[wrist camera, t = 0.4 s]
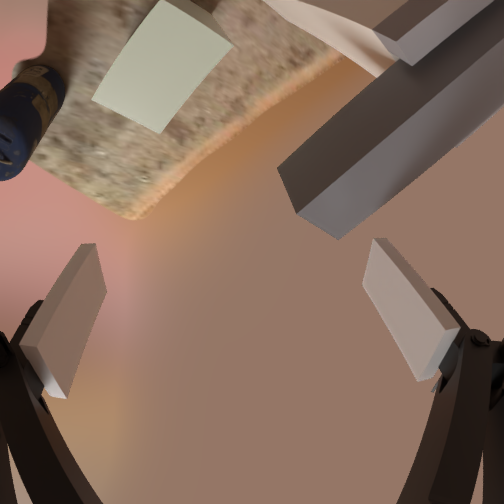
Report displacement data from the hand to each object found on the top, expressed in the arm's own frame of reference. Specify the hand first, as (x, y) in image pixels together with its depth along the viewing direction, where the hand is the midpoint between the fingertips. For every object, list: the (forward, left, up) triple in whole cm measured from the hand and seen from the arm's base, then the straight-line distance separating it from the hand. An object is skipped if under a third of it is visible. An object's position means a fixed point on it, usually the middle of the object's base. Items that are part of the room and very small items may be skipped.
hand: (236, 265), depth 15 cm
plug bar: (+3, +13, -5) cm, 14 cm away
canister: (-17, -16, -37) cm, 44 cm away
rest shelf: (-5, +1, -37) cm, 37 cm away
